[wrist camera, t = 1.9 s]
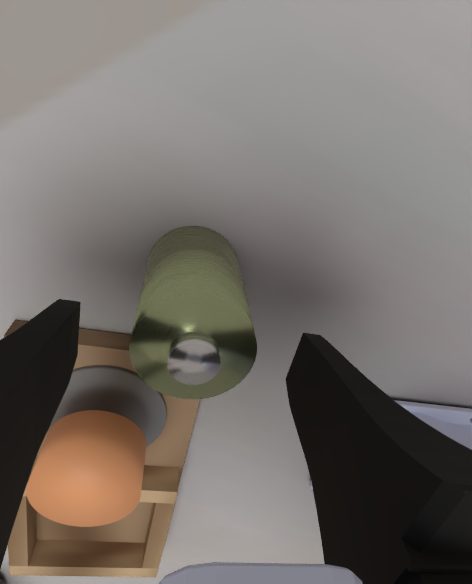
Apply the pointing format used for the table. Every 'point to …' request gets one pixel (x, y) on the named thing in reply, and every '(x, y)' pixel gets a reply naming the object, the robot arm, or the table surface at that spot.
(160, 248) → the cell
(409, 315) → the table surface
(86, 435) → the button
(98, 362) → the board
